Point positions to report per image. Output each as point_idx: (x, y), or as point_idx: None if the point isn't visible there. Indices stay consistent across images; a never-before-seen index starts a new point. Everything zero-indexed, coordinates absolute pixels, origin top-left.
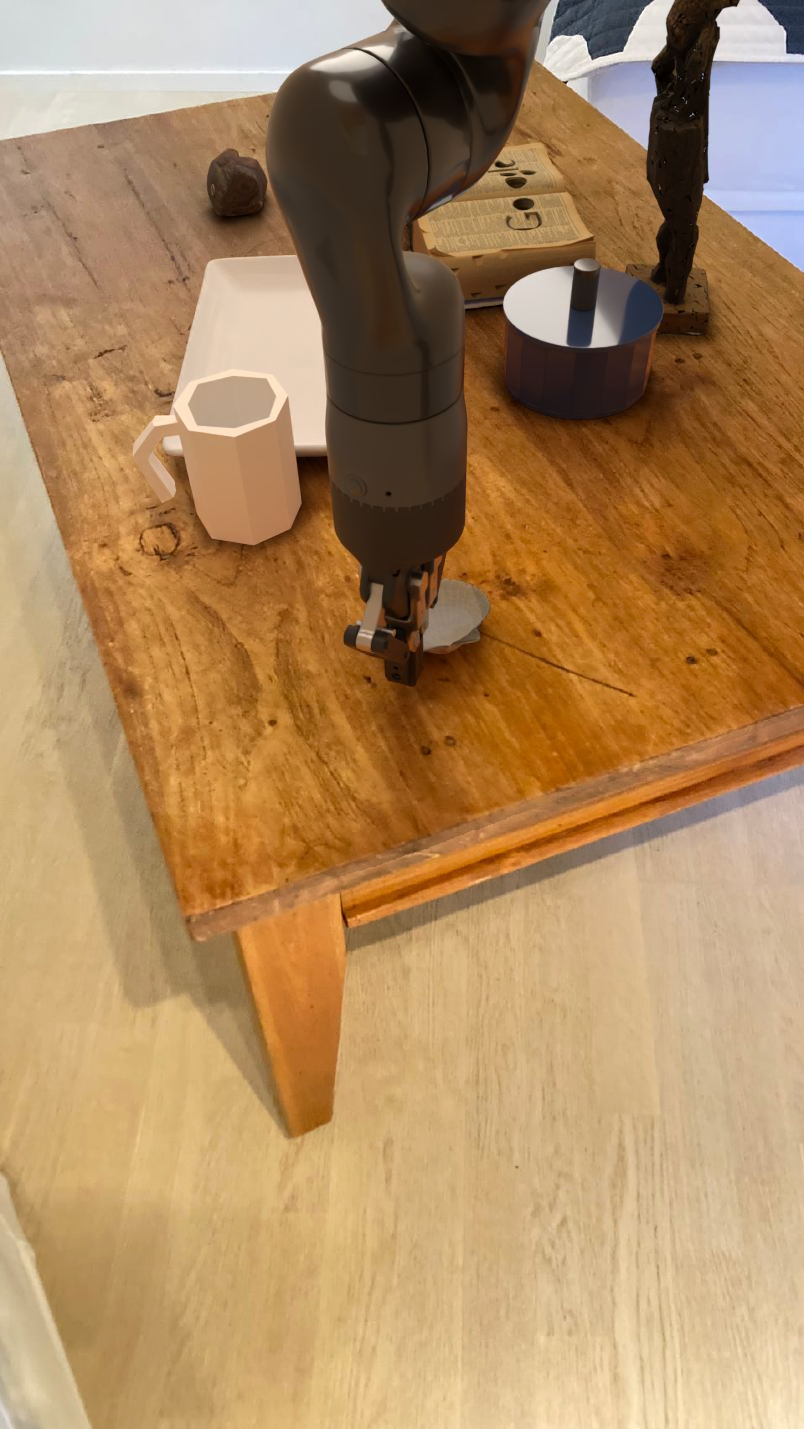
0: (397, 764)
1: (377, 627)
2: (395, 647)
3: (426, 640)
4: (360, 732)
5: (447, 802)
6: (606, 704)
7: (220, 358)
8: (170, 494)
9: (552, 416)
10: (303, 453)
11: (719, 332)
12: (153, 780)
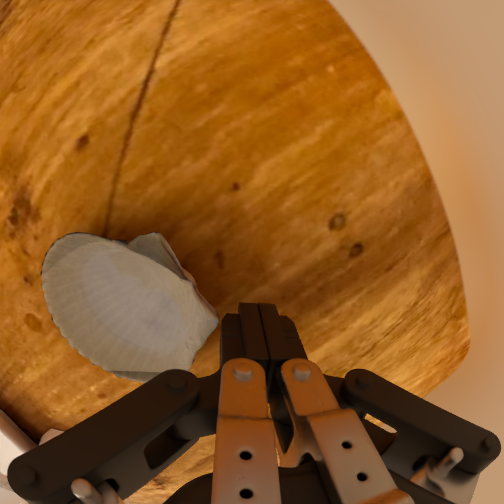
0: (377, 277)
1: (471, 479)
2: (438, 424)
3: (157, 305)
4: (333, 331)
5: (421, 205)
6: (213, 8)
7: (4, 460)
8: (123, 501)
9: None
10: (20, 440)
11: None
12: (380, 426)
